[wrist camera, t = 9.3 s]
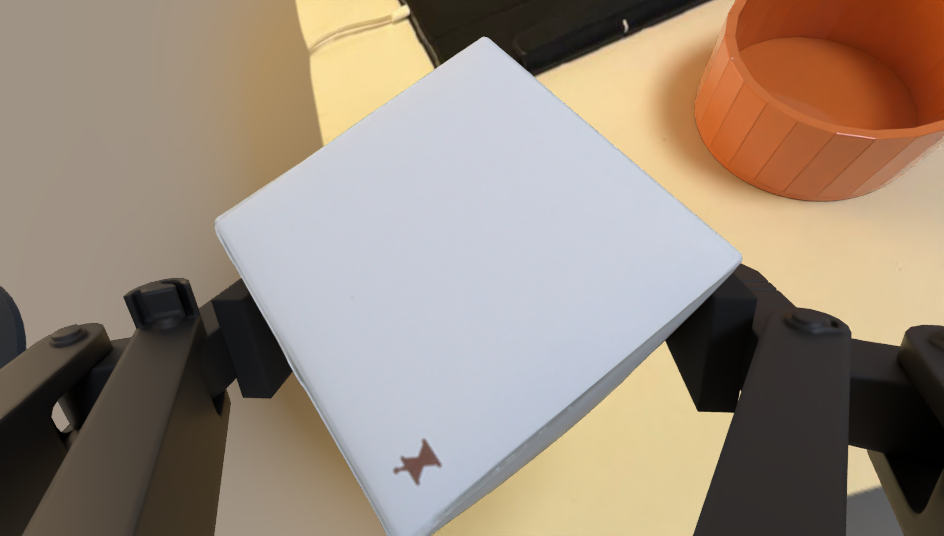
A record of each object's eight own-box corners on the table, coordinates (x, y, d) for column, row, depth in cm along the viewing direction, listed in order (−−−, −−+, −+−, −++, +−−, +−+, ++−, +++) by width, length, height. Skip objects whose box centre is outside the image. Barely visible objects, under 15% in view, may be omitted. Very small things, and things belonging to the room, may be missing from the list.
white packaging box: (630, 379, 19) (772, 264, 7) (486, 497, 18) (384, 580, 6) (517, 252, 22) (489, 21, 10) (388, 349, 21) (193, 219, 9)
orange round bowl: (680, 179, 32) (711, 116, 26) (708, 28, 36) (739, -56, 30) (923, 220, 28) (1023, 159, 22) (920, 47, 33) (1004, -43, 27)
